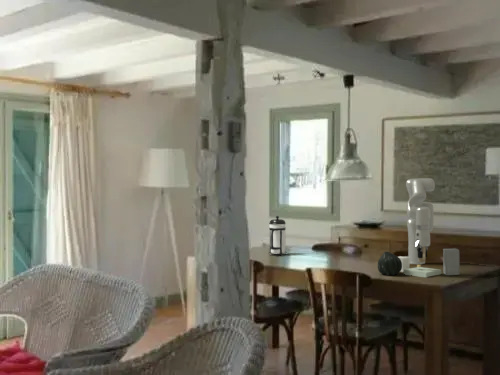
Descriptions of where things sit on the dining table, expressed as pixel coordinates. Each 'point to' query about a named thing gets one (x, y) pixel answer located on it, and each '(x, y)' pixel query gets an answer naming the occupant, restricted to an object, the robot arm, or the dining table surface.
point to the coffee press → (277, 236)
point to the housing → (405, 263)
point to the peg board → (422, 272)
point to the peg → (423, 254)
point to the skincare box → (451, 261)
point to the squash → (389, 264)
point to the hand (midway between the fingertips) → (422, 257)
